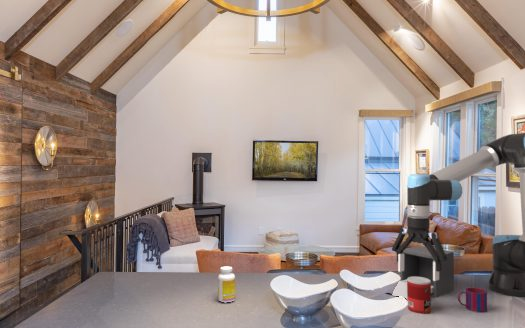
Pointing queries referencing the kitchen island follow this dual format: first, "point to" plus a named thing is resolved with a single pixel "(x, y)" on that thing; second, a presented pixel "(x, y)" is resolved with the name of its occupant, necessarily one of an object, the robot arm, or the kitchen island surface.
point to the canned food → (419, 294)
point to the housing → (429, 269)
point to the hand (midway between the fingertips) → (417, 275)
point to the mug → (475, 299)
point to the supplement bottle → (226, 284)
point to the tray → (404, 289)
